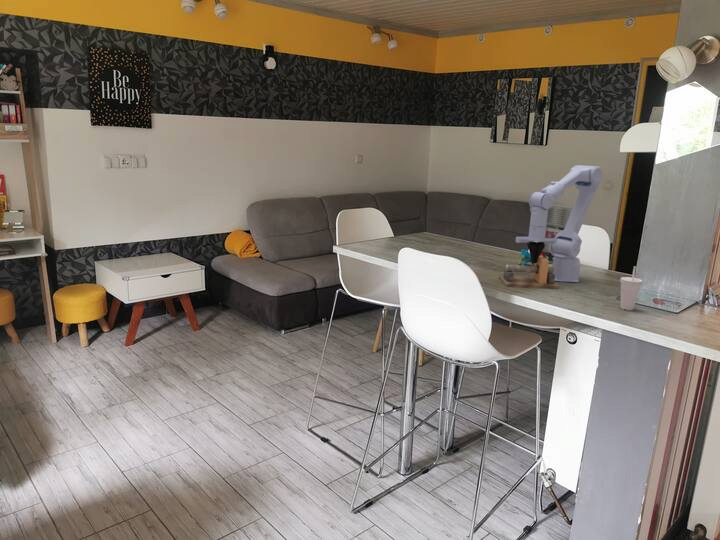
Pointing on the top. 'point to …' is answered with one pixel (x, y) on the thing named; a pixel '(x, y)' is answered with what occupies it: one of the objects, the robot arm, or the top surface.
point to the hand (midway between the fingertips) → (533, 262)
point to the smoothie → (629, 291)
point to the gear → (525, 257)
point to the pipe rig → (527, 281)
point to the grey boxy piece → (555, 226)
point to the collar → (541, 270)
